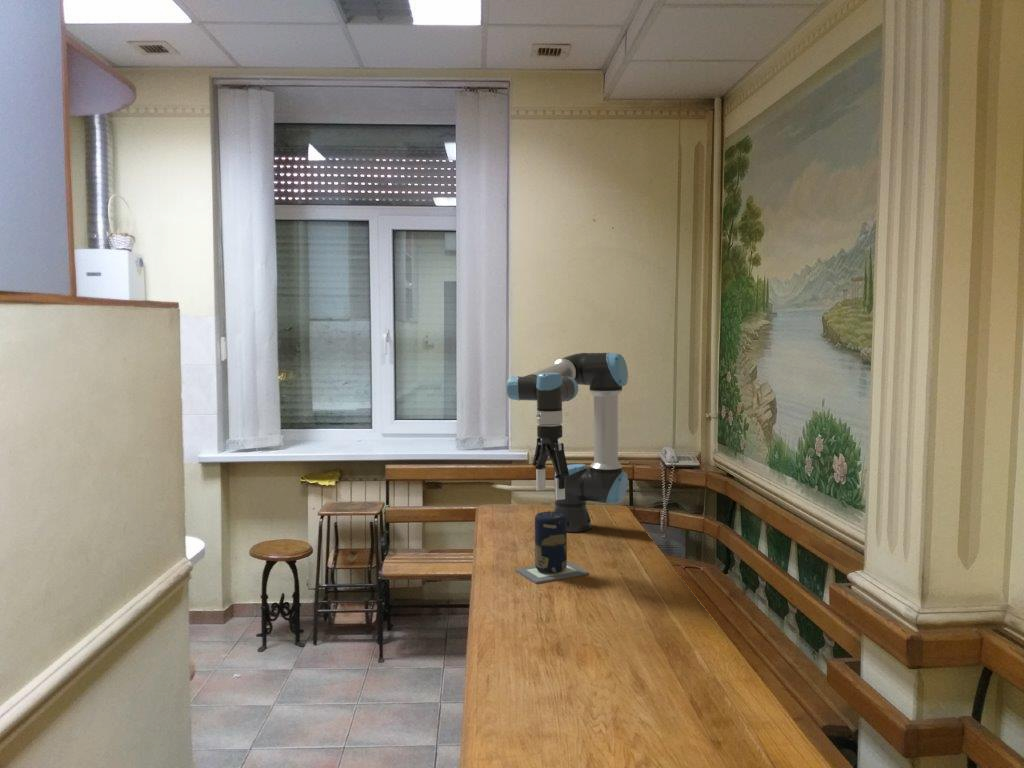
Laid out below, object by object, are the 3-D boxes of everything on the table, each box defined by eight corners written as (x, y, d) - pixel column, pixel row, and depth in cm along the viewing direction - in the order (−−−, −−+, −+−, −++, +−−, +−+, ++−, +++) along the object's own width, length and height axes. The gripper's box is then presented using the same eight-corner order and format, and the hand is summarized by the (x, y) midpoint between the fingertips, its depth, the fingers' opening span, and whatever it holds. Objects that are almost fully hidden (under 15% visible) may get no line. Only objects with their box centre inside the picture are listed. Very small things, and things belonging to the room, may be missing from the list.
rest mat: (566, 562, 226) (566, 560, 226) (588, 574, 215) (588, 571, 215) (515, 570, 218) (515, 568, 218) (535, 583, 207) (535, 581, 207)
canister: (567, 565, 221) (567, 507, 220) (566, 575, 212) (566, 514, 211) (536, 564, 222) (535, 506, 221) (533, 574, 213) (533, 514, 212)
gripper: (521, 420, 226) (522, 487, 228) (556, 430, 203) (557, 504, 205) (543, 419, 229) (544, 485, 230) (580, 428, 206) (580, 502, 207)
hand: (550, 494), depth 218 cm, fingers open, 13 cm apart
